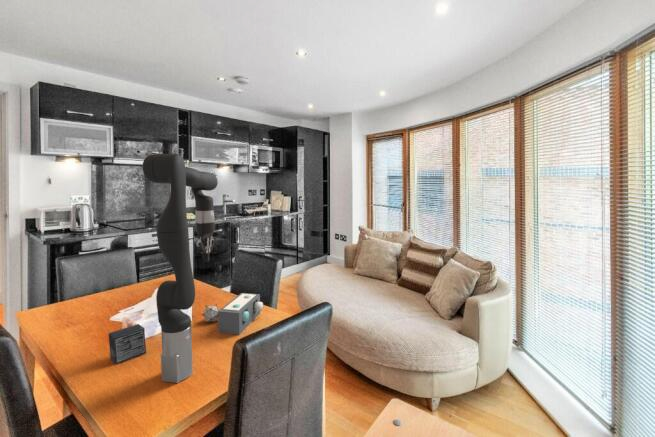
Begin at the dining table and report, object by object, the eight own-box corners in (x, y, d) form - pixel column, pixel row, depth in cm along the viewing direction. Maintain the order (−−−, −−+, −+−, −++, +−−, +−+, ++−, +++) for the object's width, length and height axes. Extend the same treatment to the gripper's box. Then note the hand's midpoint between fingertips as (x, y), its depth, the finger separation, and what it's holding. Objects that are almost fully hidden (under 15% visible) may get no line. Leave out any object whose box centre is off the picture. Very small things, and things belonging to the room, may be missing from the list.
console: (239, 334, 139) (239, 311, 138) (218, 332, 141) (217, 309, 140) (260, 313, 163) (259, 292, 162) (241, 311, 164) (241, 291, 163)
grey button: (259, 312, 154) (259, 304, 153) (253, 312, 154) (253, 303, 154) (262, 309, 158) (262, 300, 158) (257, 308, 159) (257, 300, 158)
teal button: (245, 323, 142) (244, 313, 142) (238, 322, 143) (238, 313, 142) (249, 319, 147) (248, 309, 146) (243, 318, 147) (242, 309, 147)
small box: (140, 347, 128) (138, 323, 126) (146, 353, 123) (145, 327, 122) (109, 358, 119) (107, 332, 118) (115, 365, 115) (113, 337, 114)
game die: (213, 330, 151) (212, 319, 145) (198, 322, 152) (196, 311, 146) (224, 315, 158) (224, 304, 151) (210, 308, 159) (209, 297, 152)
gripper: (205, 219, 140) (206, 257, 142) (187, 222, 127) (188, 265, 129) (221, 219, 139) (222, 258, 141) (204, 223, 126) (205, 266, 128)
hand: (206, 261), depth 135 cm, fingers closed
